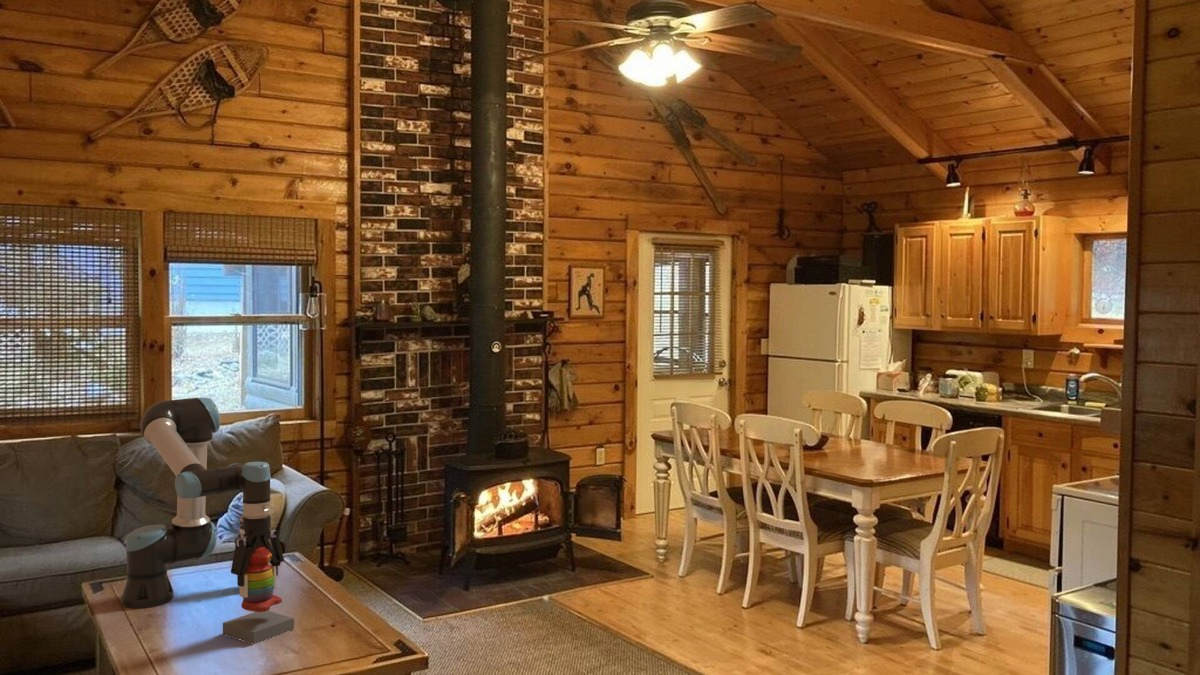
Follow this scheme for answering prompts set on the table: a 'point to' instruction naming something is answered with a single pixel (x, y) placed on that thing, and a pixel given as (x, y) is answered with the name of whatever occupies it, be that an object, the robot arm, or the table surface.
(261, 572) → the stacking bear
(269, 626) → the gray block
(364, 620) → the table surface
